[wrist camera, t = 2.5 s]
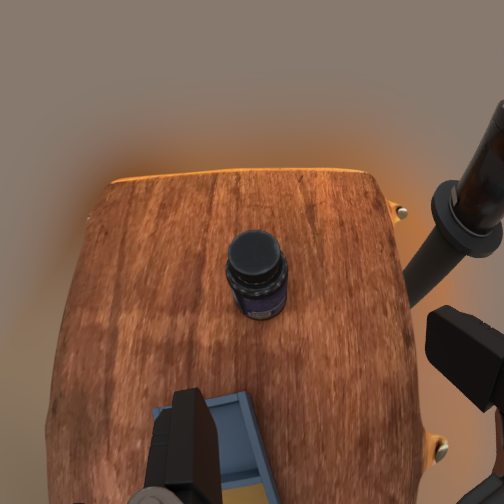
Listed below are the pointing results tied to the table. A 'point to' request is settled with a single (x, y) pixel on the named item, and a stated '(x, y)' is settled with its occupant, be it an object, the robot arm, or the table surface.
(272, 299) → the pill bottle
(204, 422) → the robot arm
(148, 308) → the table surface
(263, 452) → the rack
